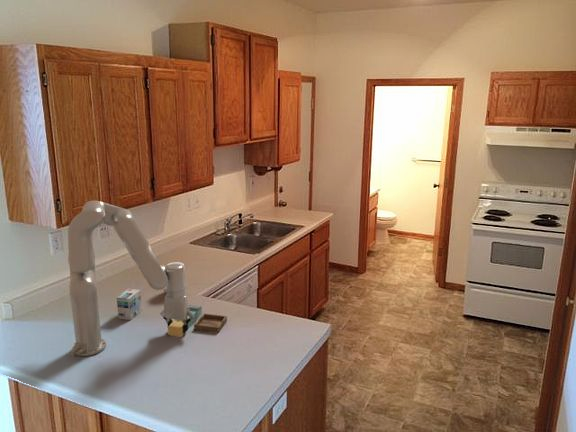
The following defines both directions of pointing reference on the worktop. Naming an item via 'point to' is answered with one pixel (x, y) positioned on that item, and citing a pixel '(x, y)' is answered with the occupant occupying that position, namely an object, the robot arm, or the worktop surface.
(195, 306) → the mint slotted bar
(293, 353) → the worktop surface
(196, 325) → the tray
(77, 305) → the robot arm
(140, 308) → the light bulb box
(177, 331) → the stub
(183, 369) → the worktop surface
